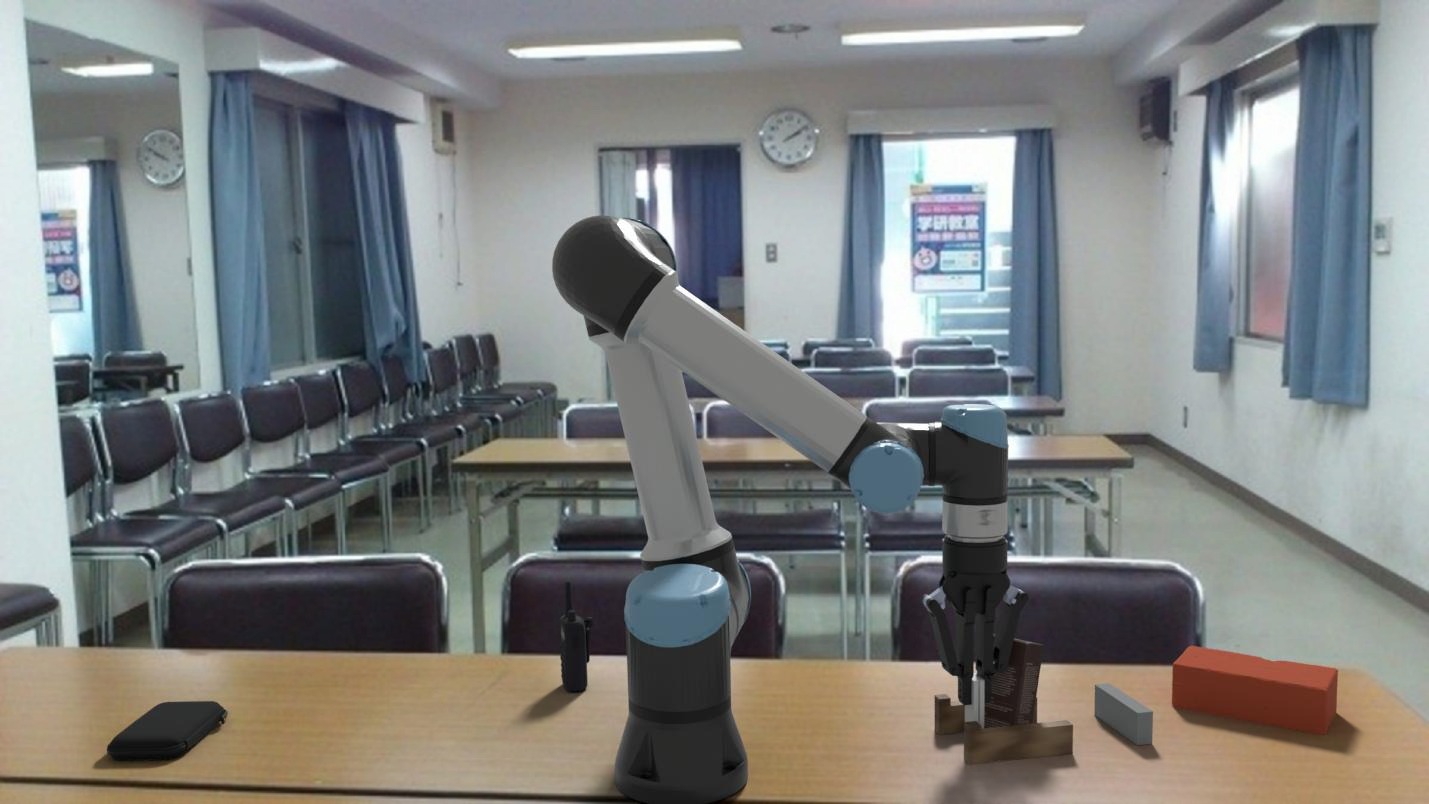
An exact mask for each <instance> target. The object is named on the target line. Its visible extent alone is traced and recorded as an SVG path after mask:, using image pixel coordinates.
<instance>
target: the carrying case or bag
mask: <svg viewBox="0 0 1429 804" xmlns="http://www.w3.org/2000/svg"><path fill="white" fill-rule="evenodd" d="M228 714H229V711H228V710H227V709H226V708H224V707H223V706H222V705H221V704H220V703H219V702H217V701H214V700H202V701H199V700H198V701H196V700H195V701H194V700H192V701H191V700H190V701H164V702H161V703H158V704H156V705H155V706H154V707H152V708H150V710H148V711H146V712H145V713H144V714H142V715H141V716H139V718H137V719H136V720H135V721H133V722H132V723H131V724H129V725H128V726H127V727H126V728H124V729H123V730H122V731H120V732H119V733H118V734H117V735H115V737H113V739H111V741H110V742H109V744H107V746H106V753H107V755H108V756H110V757H112V759H114V760H116V761H170V760H174V759H177V758H179V757H181V756H183V754H184V753H186V752H188V751H189V750H190V749H191V748H192V747H193V746H195V744H196V743H197V742H198V741H200V740H201V739H202V738H203V737H205V736H206V735H207V734H208V733H209V732H211V730H213V729H214V728H215V727H216V726H217V725H218V724H219V723H221V725H224V724H225V723H226V721H227V718H228Z"/></svg>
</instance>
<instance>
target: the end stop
mask: <svg viewBox="0 0 1429 804" xmlns="http://www.w3.org/2000/svg"><path fill="white" fill-rule="evenodd" d="M1093 713H1094V716H1095V717H1096V718H1098V719H1099V720H1100V721H1102V722H1103V723H1105V724H1107V725H1108V726H1109V727H1111V728H1112V729H1113V730H1115V731H1117V732H1118V733H1119V734H1121V735H1122V736H1123V737H1124V738H1126V739H1127V740H1129V741H1130V742H1132V743H1133V744H1135V745H1136V746H1143V745H1151V744H1153V733H1154V732H1153V729H1154V727H1153V726H1154V723H1153V722H1154V720H1153V719H1154V712H1153V710H1151V709H1149V708H1148V707H1147V706H1146V705H1143V704H1142V703H1140V702H1139V701H1138V700H1136V699H1134V698H1133V697H1131V696H1130V695H1128V694H1126V693H1125V692H1124V691H1122V690H1121V689H1119V688H1117V687H1116V686H1114V685H1113V684H1111V683H1109V682H1107V683H1106V682H1105V683H1098V684H1094V712H1093Z"/></svg>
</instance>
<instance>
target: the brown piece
mask: <svg viewBox="0 0 1429 804" xmlns="http://www.w3.org/2000/svg"><path fill="white" fill-rule="evenodd" d="M934 731H935V732H936V733H937V734H938V735H947V734H956V733H958V734H959V733H963V760H964V761H965V762H966V763H967V765H976V764H984V763H994V762H1004V761H1014V760H1022V759H1031V758H1042V757H1052V756H1060V755H1061V756H1062V755H1070V754H1073V752H1074V750H1073V748H1074V724H1073V723H1071V722H1070V721H1069V720H1068V719H1063V720H1053V721H1045V722H1038V697H1037V696H1036V702H1035V708H1034V715H1033V722H1032V724H1023V725H1013V726H1003V727H993V728H983V729H981V725H980V724H979V723H978V722H977V721H970V722H965V705H963V704H962V703H961V702H960V701H959V699H958V700H952V699H951V697H950V696H949V695H948V694H946V693H943V694H942V693H941V694H934Z"/></svg>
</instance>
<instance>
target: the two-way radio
mask: <svg viewBox="0 0 1429 804" xmlns="http://www.w3.org/2000/svg"><path fill="white" fill-rule="evenodd" d="M564 610H565V611H564V614H563V615H562V616H560V618H559V630H560V631H559V633H560V644H559V647H560V649H559V650H560V662H561V663H560V668H561V669H560V671H561V673H560V675H561V682H562V685H563V687H564V688H565V690H566V691H568V692H570V691H574V692H581V690H582V691H583V690H585V689H586V688H588V681H589V680H588V663H590V661H591V660H590V657H591V656H590V655H591V654H590V638H591V637H590V636H591V631H592V627H593V626H594V621H593V620H594V619H593V617H592V616H587V617H586V619H584V618H583V617H581V616H579V615H576V611H575V609H573V596H572V583H571V581H570V579H569V580H565V582H564Z"/></svg>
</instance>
